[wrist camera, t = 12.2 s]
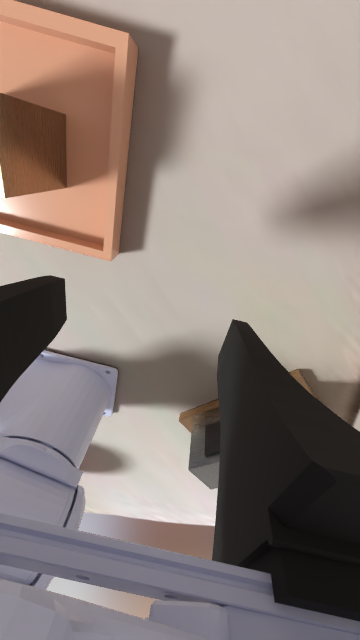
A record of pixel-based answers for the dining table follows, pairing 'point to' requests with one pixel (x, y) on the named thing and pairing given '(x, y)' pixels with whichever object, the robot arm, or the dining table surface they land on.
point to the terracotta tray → (72, 124)
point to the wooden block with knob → (31, 148)
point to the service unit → (211, 437)
